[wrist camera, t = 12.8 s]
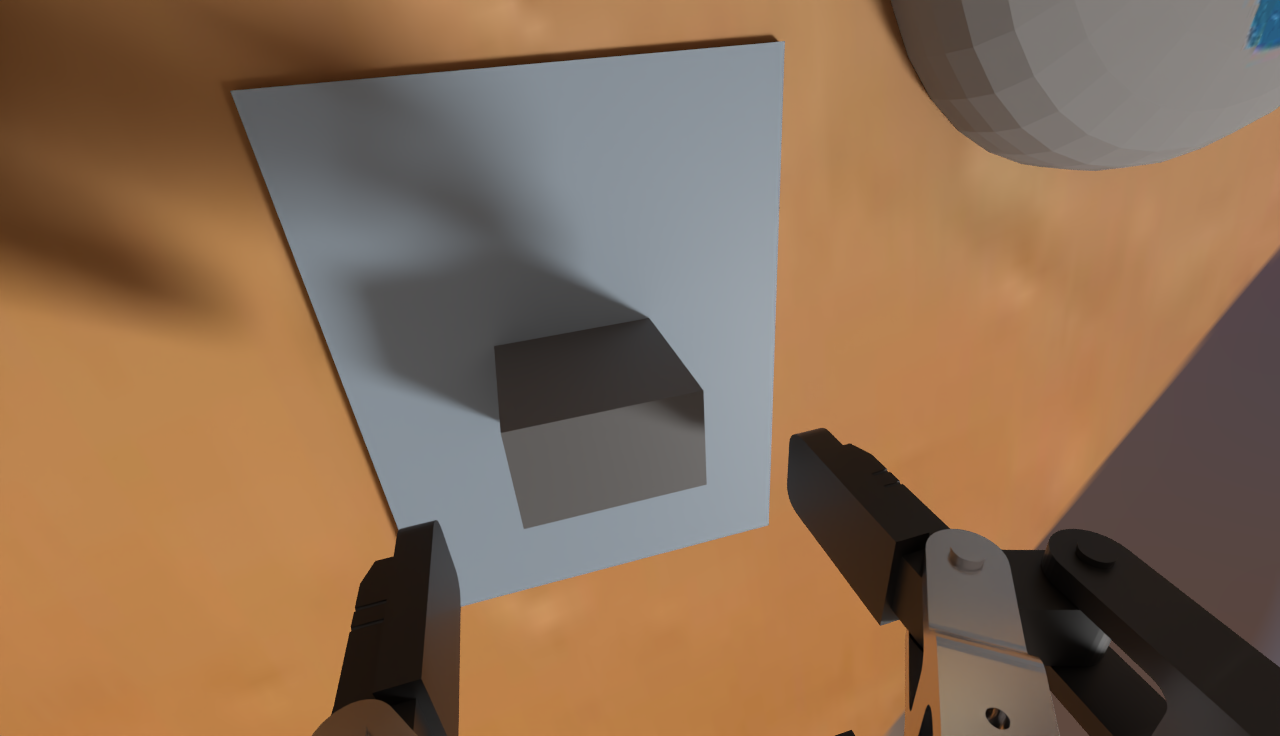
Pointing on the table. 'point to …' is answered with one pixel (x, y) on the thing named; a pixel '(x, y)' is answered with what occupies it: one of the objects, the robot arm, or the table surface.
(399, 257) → the lid
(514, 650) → the table surface
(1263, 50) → the grey thick disc
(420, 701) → the robot arm
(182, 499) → the table surface
